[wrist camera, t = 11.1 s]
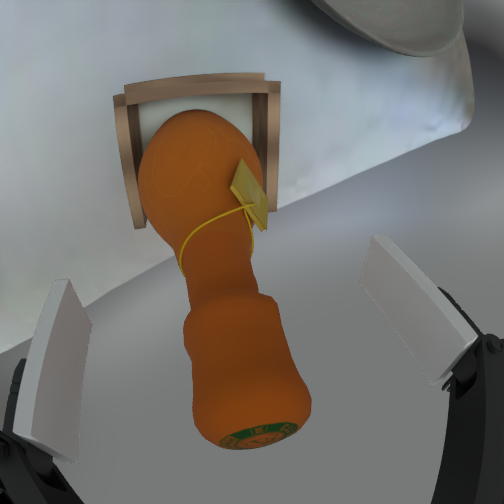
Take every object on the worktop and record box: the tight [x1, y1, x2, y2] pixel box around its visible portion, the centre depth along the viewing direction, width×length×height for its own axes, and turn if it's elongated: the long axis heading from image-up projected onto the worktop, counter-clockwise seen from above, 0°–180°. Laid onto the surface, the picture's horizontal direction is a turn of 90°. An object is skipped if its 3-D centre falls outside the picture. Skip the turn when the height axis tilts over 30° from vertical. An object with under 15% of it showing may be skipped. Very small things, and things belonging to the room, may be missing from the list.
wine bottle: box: [138, 109, 311, 450], centre depth 18 cm, size 10×10×30 cm
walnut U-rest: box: [113, 73, 281, 229], centre depth 28 cm, size 16×16×7 cm
